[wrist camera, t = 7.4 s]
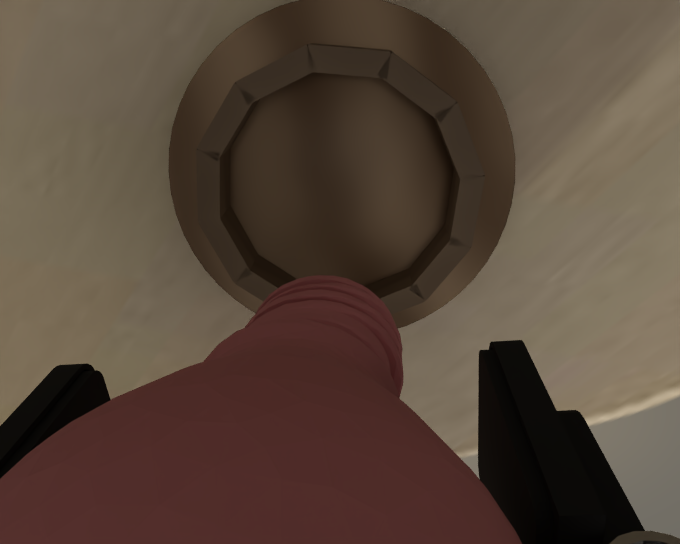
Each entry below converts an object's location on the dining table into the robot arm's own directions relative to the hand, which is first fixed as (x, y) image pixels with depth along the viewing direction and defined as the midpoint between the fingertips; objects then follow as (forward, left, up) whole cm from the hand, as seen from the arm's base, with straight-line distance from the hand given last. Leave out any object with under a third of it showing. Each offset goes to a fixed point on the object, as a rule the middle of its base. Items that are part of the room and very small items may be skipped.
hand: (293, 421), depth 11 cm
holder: (0, 0, -18) cm, 18 cm away
